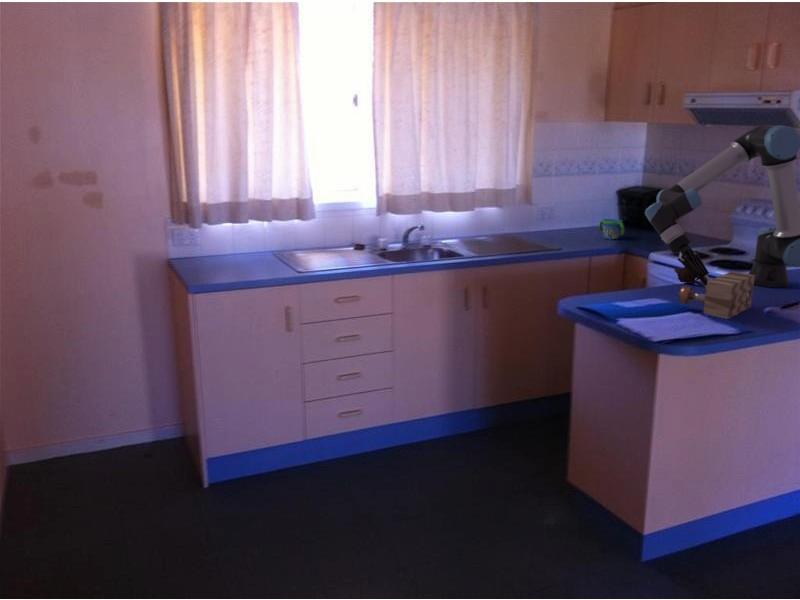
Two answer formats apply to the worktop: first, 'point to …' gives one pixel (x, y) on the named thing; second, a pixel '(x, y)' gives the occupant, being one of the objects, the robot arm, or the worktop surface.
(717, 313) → the block
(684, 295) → the terracotta knob
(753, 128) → the robot arm
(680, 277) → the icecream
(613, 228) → the snack cup
